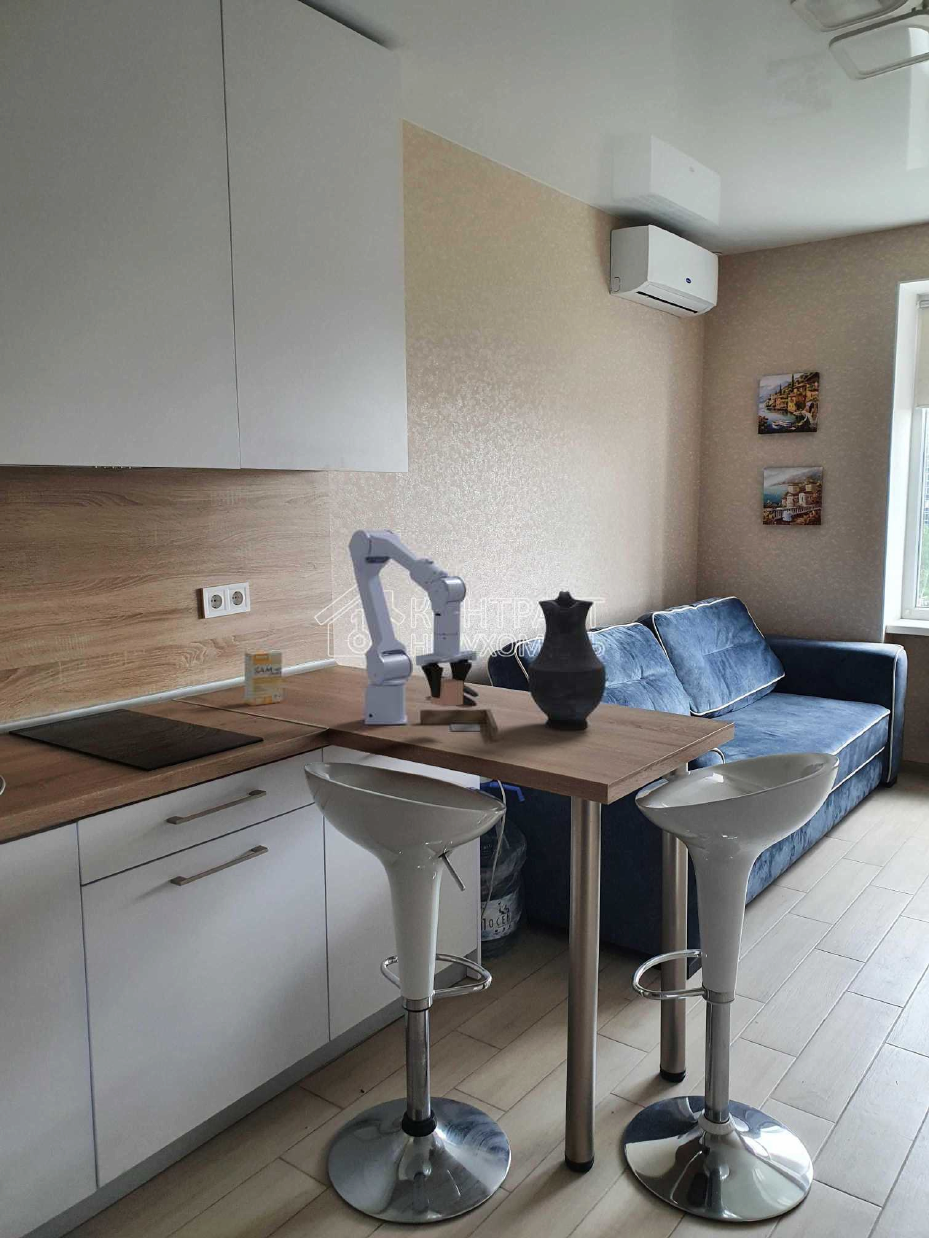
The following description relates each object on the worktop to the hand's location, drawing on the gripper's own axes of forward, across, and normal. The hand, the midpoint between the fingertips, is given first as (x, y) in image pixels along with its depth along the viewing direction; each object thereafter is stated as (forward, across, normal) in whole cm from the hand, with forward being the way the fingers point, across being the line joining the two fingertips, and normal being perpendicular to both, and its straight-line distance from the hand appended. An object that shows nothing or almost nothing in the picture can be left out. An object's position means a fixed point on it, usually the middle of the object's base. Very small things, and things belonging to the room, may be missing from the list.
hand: (446, 696), depth 200 cm
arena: (+8, +3, 0) cm, 9 cm away
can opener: (+9, +24, +30) cm, 39 cm away
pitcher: (+9, +28, -7) cm, 30 cm away
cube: (+2, 0, 0) cm, 2 cm away
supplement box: (+9, -18, +54) cm, 57 cm away
